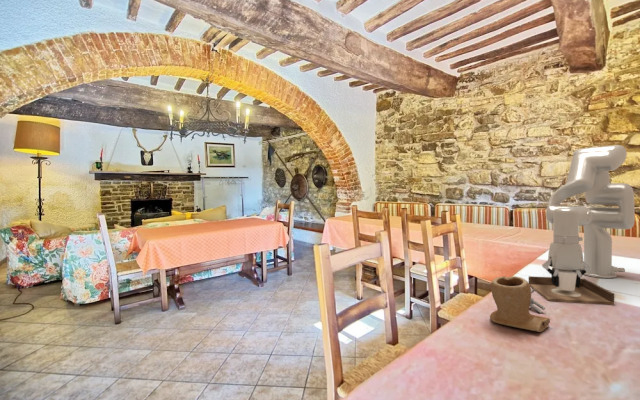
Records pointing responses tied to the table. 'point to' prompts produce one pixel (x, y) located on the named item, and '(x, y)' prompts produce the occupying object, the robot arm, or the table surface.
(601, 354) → the table surface
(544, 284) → the corner board
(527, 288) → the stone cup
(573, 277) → the shot glass
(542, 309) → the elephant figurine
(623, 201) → the robot arm
